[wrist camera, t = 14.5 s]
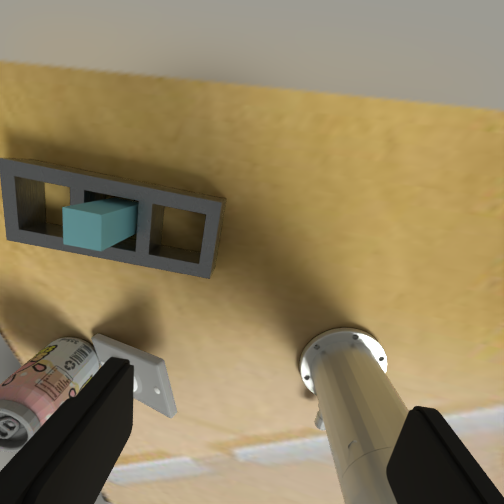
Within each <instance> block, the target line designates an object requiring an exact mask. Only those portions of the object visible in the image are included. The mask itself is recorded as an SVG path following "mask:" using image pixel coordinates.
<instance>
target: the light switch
mask: <svg viewBox="0 0 504 504" xmlns="http://www.w3.org/2000/svg"><path fill="white" fill-rule="evenodd" d="M91 339H92V342H93V345H94V348H95V350H96V353H97V356H98V359H99V362H100V365H101V367H102V366H103V364H104V363H105V362H106V361H107V360H108V359H109V358H110V357H116V358H123V359H128V360H129V361H130V365H134V391H133V398H135V399H137V400H138V401H140V402H142V403H144V404H146V405H147V406H149V407H151V408H153V409H155V410H156V411H158V412H160V413H162V414H164V415H165V416H167V417H169V418H173V416H174V415H175V414H176V413H177V408H176V405H175V401H174V397H173V393H172V389H171V385H170V381H169V377H168V373H167V369H166V366H165V362H164V360H163V359H162V358H159V357H157V356H154V355H152V354H149V353H147V352H144V351H142V350H139V349H137V348H134V347H132V346H129V345H126V344H124V343H121V342H119V341H116V340H114V339H111V338H109V337H106V336H104V335H101V334H99V333H98V334H96V335H94V336H93V337H92V338H91Z"/></svg>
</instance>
